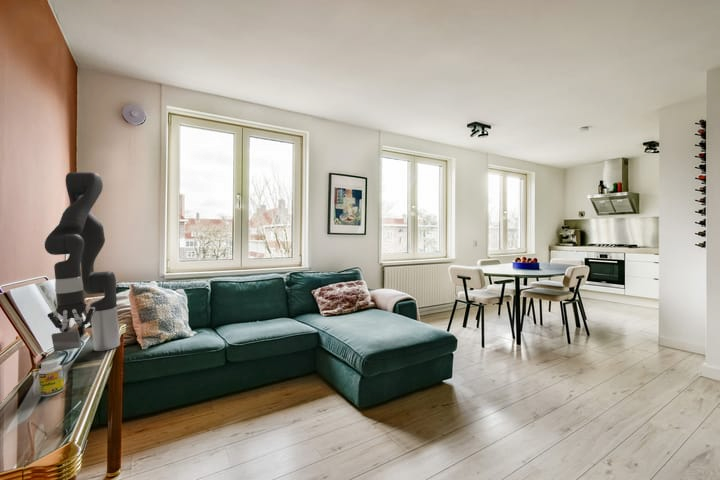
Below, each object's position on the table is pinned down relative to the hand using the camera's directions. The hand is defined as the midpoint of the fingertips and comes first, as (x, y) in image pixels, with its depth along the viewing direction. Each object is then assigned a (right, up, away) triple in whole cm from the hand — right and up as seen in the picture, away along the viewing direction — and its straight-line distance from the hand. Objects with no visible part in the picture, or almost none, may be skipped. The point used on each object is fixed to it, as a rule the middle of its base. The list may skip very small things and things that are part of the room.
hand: (74, 337), depth 122 cm
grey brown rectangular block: (0, -1, -1) cm, 1 cm away
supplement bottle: (+5, -14, -14) cm, 21 cm away
